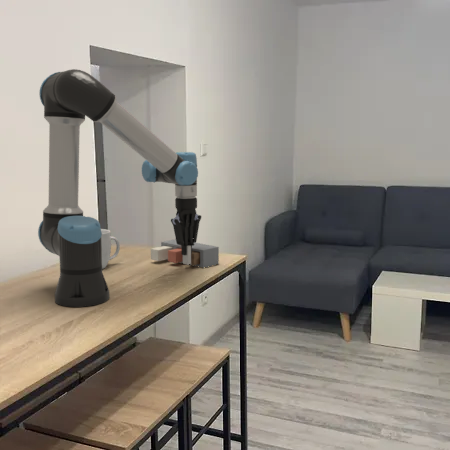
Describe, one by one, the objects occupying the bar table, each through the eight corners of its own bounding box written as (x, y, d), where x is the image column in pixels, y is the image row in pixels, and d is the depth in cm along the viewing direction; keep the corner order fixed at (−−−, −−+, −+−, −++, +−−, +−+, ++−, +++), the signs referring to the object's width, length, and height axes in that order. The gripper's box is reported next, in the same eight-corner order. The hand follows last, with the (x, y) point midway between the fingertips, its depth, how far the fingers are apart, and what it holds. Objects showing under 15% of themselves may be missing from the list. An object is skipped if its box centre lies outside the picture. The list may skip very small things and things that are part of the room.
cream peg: (158, 261, 201) (158, 250, 201) (150, 259, 204) (150, 248, 203) (176, 256, 208) (176, 246, 207) (168, 255, 210) (168, 245, 210)
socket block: (203, 268, 196) (203, 250, 195) (161, 258, 211) (161, 241, 209) (218, 264, 202) (218, 246, 201) (176, 255, 216) (176, 238, 215)
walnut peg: (194, 265, 195) (194, 254, 195) (186, 263, 198) (186, 252, 197) (211, 260, 202) (211, 250, 201) (203, 259, 205) (203, 248, 204)
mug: (112, 261, 206) (111, 226, 204) (127, 266, 198) (126, 230, 196) (74, 267, 197) (73, 230, 195) (88, 273, 189) (87, 235, 186)
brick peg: (175, 263, 198) (175, 252, 198) (168, 261, 201) (168, 250, 200) (193, 258, 205) (193, 248, 204) (185, 257, 208) (185, 246, 207)
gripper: (180, 199, 184) (181, 268, 188) (207, 196, 194) (207, 262, 198) (164, 197, 189) (166, 265, 193) (191, 194, 199) (192, 258, 203)
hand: (186, 263), depth 195 cm, fingers closed
